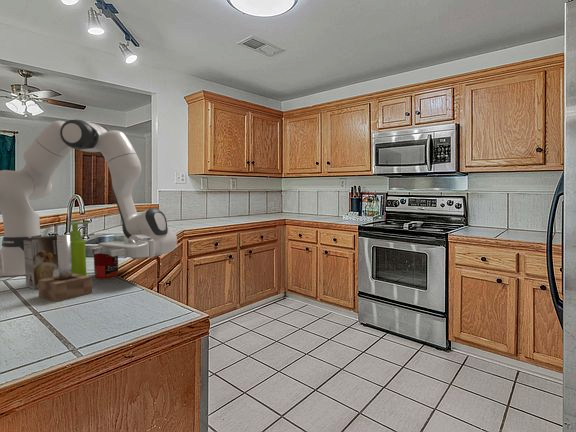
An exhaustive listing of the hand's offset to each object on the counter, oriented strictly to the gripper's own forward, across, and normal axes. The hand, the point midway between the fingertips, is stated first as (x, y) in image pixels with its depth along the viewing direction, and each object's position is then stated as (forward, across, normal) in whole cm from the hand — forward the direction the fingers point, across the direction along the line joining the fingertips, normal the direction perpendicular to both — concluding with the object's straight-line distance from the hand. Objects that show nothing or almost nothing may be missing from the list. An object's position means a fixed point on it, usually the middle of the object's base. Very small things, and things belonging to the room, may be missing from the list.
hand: (101, 252), depth 113 cm
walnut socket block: (+11, 0, +11) cm, 16 cm away
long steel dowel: (+11, 0, +11) cm, 16 cm away
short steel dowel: (+7, -12, +11) cm, 18 cm away
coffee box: (+8, -18, +11) cm, 23 cm away
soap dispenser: (-4, -20, +11) cm, 23 cm away
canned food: (-9, -11, +11) cm, 18 cm away
